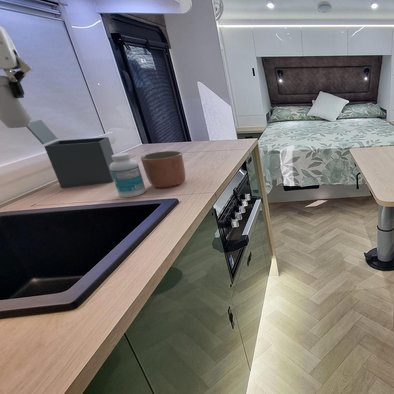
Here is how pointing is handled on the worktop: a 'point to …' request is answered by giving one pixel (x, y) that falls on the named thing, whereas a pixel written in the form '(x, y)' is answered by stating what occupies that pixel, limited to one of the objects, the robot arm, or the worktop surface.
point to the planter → (164, 168)
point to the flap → (41, 131)
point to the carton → (81, 161)
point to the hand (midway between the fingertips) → (6, 97)
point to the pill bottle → (126, 175)
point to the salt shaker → (11, 107)
